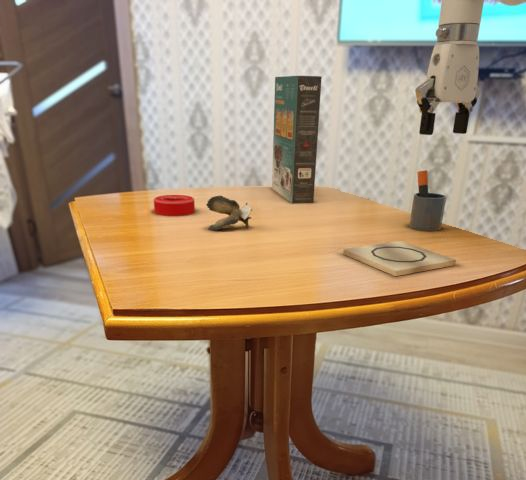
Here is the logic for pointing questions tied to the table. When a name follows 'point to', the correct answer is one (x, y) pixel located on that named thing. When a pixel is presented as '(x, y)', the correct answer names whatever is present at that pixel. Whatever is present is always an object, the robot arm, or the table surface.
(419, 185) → the marker
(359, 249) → the beige square tile
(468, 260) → the table surface
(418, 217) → the pen cup
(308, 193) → the cake mix box
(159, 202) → the red tape roll
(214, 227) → the eagle figurine
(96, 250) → the table surface
